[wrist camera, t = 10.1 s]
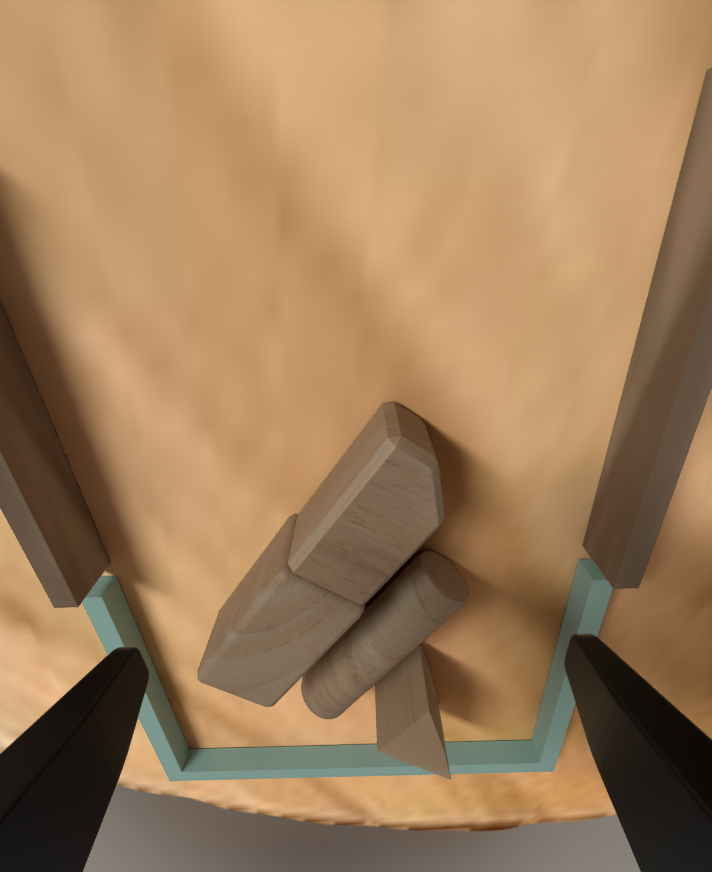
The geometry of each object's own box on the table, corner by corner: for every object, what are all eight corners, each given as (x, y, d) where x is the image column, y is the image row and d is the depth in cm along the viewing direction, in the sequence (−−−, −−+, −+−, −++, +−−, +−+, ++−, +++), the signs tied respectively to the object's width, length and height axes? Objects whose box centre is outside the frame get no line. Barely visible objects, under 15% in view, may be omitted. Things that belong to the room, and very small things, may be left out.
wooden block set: (177, 710, 21) (391, 446, 14) (212, 615, 26) (382, 387, 19) (442, 805, 25) (705, 638, 18) (427, 707, 30) (629, 548, 23)
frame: (600, 558, 23) (615, 579, 22) (545, 748, 32) (553, 771, 30) (95, 576, 23) (79, 597, 22) (177, 757, 32) (169, 781, 31)
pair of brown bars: (744, 67, 13) (842, 28, 11) (604, 544, 22) (638, 587, 20) (-112, 119, 14) (-223, 94, 11) (89, 563, 23) (54, 607, 20)
